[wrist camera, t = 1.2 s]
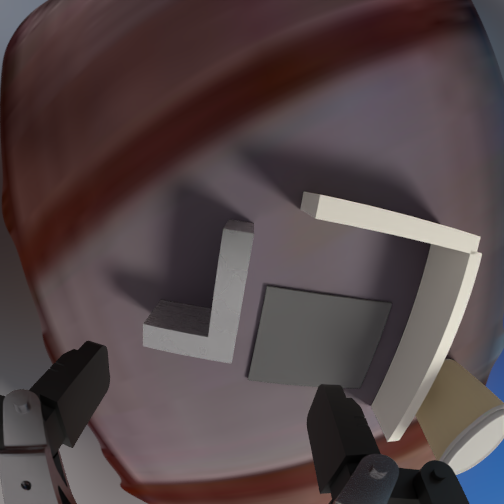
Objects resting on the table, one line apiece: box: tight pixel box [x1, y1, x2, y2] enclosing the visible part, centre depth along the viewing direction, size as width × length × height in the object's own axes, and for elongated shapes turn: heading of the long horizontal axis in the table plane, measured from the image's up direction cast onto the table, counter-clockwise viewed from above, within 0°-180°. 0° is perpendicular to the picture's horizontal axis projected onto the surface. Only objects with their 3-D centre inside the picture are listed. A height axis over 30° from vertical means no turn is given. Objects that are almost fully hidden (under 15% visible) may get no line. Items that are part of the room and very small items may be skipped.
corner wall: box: [300, 192, 482, 442], centre depth 23 cm, size 21×15×6 cm
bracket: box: [143, 219, 254, 363], centre depth 23 cm, size 10×7×5 cm
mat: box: [248, 285, 392, 388], centre depth 26 cm, size 10×12×1 cm
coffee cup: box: [416, 359, 504, 475], centre depth 22 cm, size 9×9×12 cm
